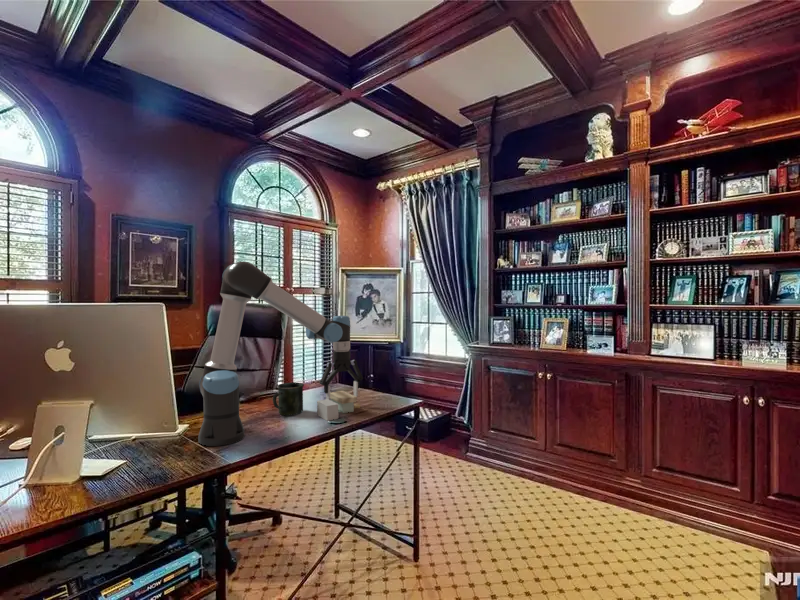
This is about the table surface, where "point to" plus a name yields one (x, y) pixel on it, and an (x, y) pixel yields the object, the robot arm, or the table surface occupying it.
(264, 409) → the table surface
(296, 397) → the mug
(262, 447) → the table surface
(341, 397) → the lid
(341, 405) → the dish
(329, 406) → the light grey rectangular block
